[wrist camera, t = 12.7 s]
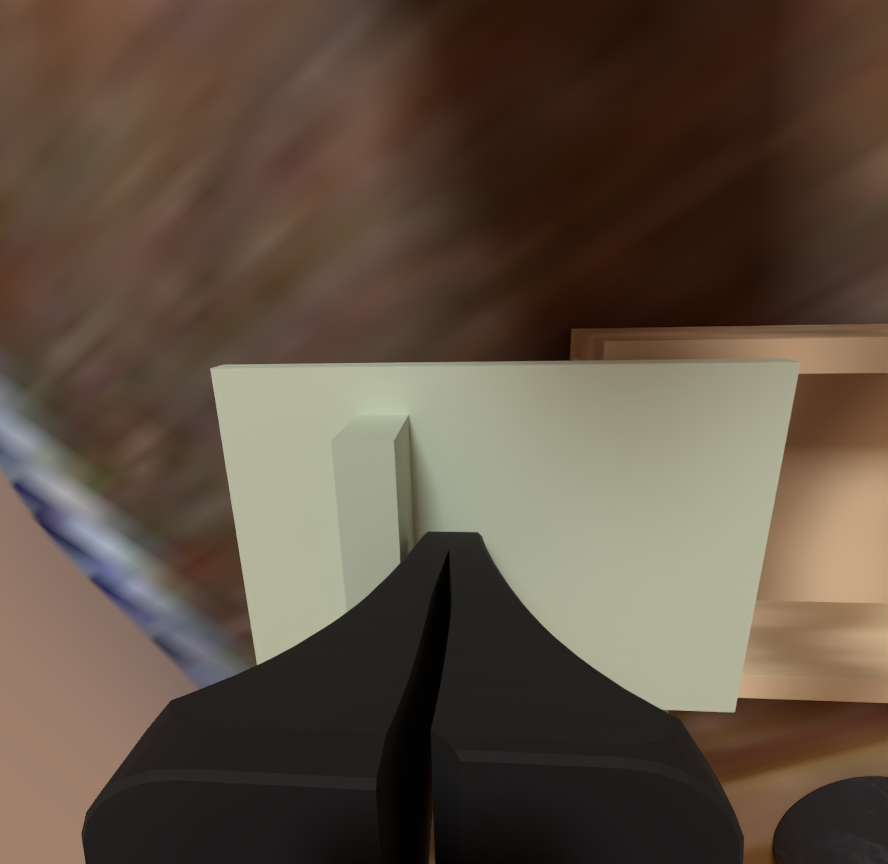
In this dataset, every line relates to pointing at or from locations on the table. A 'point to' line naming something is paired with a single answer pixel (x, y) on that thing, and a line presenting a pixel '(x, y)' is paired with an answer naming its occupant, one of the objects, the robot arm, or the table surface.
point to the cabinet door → (520, 498)
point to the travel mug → (837, 825)
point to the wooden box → (807, 503)
